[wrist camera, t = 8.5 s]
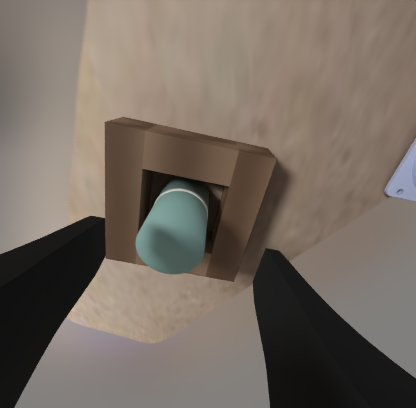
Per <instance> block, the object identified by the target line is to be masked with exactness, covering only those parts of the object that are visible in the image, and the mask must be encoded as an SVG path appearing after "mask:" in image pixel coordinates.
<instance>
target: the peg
mask: <svg viewBox="0 0 416 408" xmlns="http://www.w3.org/2000/svg"><path fill="white" fill-rule="evenodd" d="M208 206H209V192H208V189H207V187H206V185H205V184H204V183H203V182H202V181H200V180H195V179H190V178H185V177H180V176H175V177H173V178H171V179H170V180H169V181H168V182H167V183H166V184H165V186H164V188H163V190H162V192H161V193H160V195H159V197H158V198H157V200H156V201H155V203H154V206H153V208H152V209H151V211H150V213H149V215H148V216H147V218H146V220H145V222H144V224H143V225H142V227H141V229H140V231H139V232H138V234H137V237H136V250H137V253H138V255H139V257H140V258H141V259H142V261H143V262H144V263H145V264H146V265H148V266H149V267H151V268H152V269H154V270H156V271H159V272H162V273H166V274H182V273H186V272H188V271H191V270H192V269H194V268H195V267H197V266H198V265H199V263H200V262H201V260H202V259H203V256H204V250H205V239H206V228H207V220H208Z"/></svg>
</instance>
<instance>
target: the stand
mask: <svg viewBox="0 0 416 408" xmlns="http://www.w3.org/2000/svg"><path fill="white" fill-rule="evenodd" d="M276 160H277V159H276V158H275V156H274V155H273V154H272V153H271V152H270V151H269V150H268V148H263V147H258V146H254V145H249V144H245V143H240V142H235V141H231V140H226V139H222V138H217V137H212V136H208V135H203V134H199V133H194V132H190V131H185V130H180V129H176V128H171V127H167V126H162V125H157V124H153V123H148V122H144V121H139V120H134V119H130V118H125V117H122V118H118V119H114V120H111V121H107V122H105V236H106V259H111V260H117V261H122V262H128V263H133V264H139V265H144V266H148V265H146V264H145V263H144V262H143V261H142V259H141V258H140V257H139V255H138V253H137V250H136V237H137V234H138V232H139V231H140V229H141V227H142V225H143V224H144V222H145V220H146V218H147V216H148V213H149V203H150V192H151V182H152V172H153V171H156V172H161V173H166V174H171V175H176V176H180V177H185V178H190V179H195V180H200V181H205V182H209V183H214V184H219V185H224V189H223V193H222V197H221V201H220V205H219V209H218V213H217V216H216V220H215V224H214V228H213V232H212V233H209V232H206V239H205V250H204V256H203V259H202V260H201V262H200V263H199V265H198V266H197V267H195V268H194V269H192V270H191V271H188V272H186V273H188V274H194V275H199V276H205V277H210V278H216V279H221V280H227V281H232V282H234V280H235V277H236V274H237V271H238V268H239V265H240V263H241V260H242V257H243V254H244V251H245V248H246V246H247V243H248V240H249V237H250V234H251V231H252V228H253V226H254V223H255V220H256V217H257V214H258V211H259V209H260V206H261V203H262V200H263V197H264V194H265V192H266V189H267V186H268V183H269V180H270V177H271V174H272V172H273V169H274V166H275V163H276Z"/></svg>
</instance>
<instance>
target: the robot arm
mask: <svg viewBox="0 0 416 408" xmlns="http://www.w3.org/2000/svg"><path fill="white" fill-rule="evenodd" d="M399 189H400V191H399V192H398V193H397V191H398V190H399ZM384 192H385V194H387V195H388V196H391V197H396V198H400V199H405V200H410V201H415V202H416V139H415V140H414V142H413V143H412V145H411V147H410V148H409V150H408V152H407V153H406V155H405V156H404V158H403V160H402V161H401V163H400V165H399V166H398V168H397V170H396V171H395V173H394V174H393V176H392V178H391V179H390V181H389V183H388V184H387V186H386V187H385V190H384ZM105 256H106V239H105V218H100V217H95V216H89V217H87V218H84V219H82V220H80V221H77V222H75V223H73V224H71V225H69V226H66V227H64V228H62V229H60V230H58V231H55V232H53V233H51V234H49V235H47V236H45V237H42V238H40V239H37V240H35V241H32V242H30V243H28V244H25V245H23V246H20V247H18V248H15V249H13V250H11V251H8V252H5V253H3V254H0V408H14V407H15V405H16V403H17V401H18V399H19V397H20V396H21V394H22V392H23V390H24V388H25V386H26V384H27V383H28V381H29V379H30V377H31V375H32V373H33V372H34V370H35V368H36V366H37V364H38V363H39V361H40V359H41V357H42V356H43V354H44V352H45V350H46V348H47V347H48V345H49V343H50V342H51V340H52V338H53V336H54V334H55V333H56V331H57V330H58V328H59V327H60V325H61V324H62V322H63V321H64V319H65V318H66V317H67V315H68V314H69V312H70V311H71V309H72V308H73V307H74V305H75V304H76V302H77V301H78V299H79V298H80V297H81V295H82V294H83V292H84V291H85V289H86V288H87V287H88V285H89V284H90V282H91V281H92V279H93V278H94V276H95V275H96V273H97V271H98V269H99V267H100V265H101V263H102V262H103V260H104V258H105ZM253 291H254V304H255V309H256V315H257V320H258V325H259V330H260V335H261V341H262V345H263V351H264V356H265V363H266V369H267V380H268V389H269V400H270V408H416V378H414V377H413V376H412V375H410V374H409V373H408V372H406V371H405V370H404V369H402V368H401V367H400V366H398V365H397V364H396V363H394V362H393V361H392V360H391V359H389V358H388V357H387V356H386V355H384V354H383V353H382V352H381V351H379V350H378V349H377V348H376V347H374V346H373V345H372V344H371V343H369V342H368V341H367V340H366V339H365V338H364V337H362V336H361V335H360V334H359V333H358V332H357V331H356V330H355V329H353V328H352V327H351V326H350V325H349V324H348V323H347V322H346V321H344V319H342V318H341V317H340V316H339V315H338V314H337V313H336V312H335V311H334V310H333V309H332V308H331V307H330V306H329V305H328V304H327V303H326V302H325V301H324V300H323V299H322V298H321V297H320V296H319V295H318V294H317V293H316V292H315V290H314V289H312V287H311V286H310V285H309V284H308V283H307V282H306V281H305V279H304V278H303V277H302V276H301V275H300V274H299V273H298V271H297V270H295V268H294V267H293V266H292V265H291V263H290V262H289V261H288V260H287V259H286V258H285V257H284V256H283V254H282V253H281V252H280V251H278V250H272V249H267V248H266V249H265V252H264V254H263V257H262V259H261V262H260V264H259V267H258V270H257V272H256V275H255V277H254V280H253Z"/></svg>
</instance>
